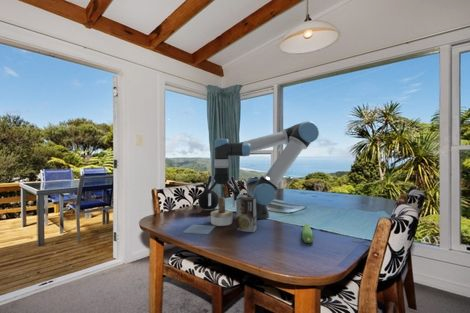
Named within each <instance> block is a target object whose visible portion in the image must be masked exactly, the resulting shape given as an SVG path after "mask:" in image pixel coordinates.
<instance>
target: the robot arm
mask: <svg viewBox="0 0 470 313" xmlns="http://www.w3.org/2000/svg"><path fill="white" fill-rule="evenodd" d="M319 134H320V131H319V128H318V126H317V125H316V123H314V122H313V121H309V120H308V121H307V120H306V121H301V122H300V123H297V124H294V125H292V126H290V127H287V128H284V129H281V131H278V132H275V133H271V134H268V135H265V136H260V137H257V138H252V139H249V140H243V141H241V142H229V141H230V140H229V139H228V138H217V139H215V140H214V176H213V175H209V176H208V180H207V183H206V185H205V186H204V188H203V191H202V192H204V193H206V194H207V200H208V206H210V205H211V193H210V192H211V191H213V189H214V188H215V187H216V186H217V185H226V186H227V187H228V189H229V190H230V191H231V192H232V207H233V208H236V199H237V198H238V195H239V194H240V193H241V191H240V188H239V187H238V183H237V182H236V180H235V176H234V175H231V176H230V175H229V157H249V156H250V155H251V153H253V152H258V151H262V150H266V149H269V148H273V147H276V146H281V145H285V147H284V148H283V150H282V151H281V153H280V154H279V155H278V156H277V158H276V160H275V161H274V162H273V164H272V165H271V166H270V168H269V169H268V171H267V172H266V173H265V174H263V175H261V176H260V177H259V178H248V179H247V180H246V197H254V198H256V220H263V219H269V217H270V212H269V209H268V205H270V204H271V203H272V202H274V200H275V199H276V192H277V191H278V190H279V188H280V187H279V183H280V182H281V180H282V179H283V178H284V176H285V175H286V173H287V172H288V171H289V169H290V168H291V167H292V165H293V163H294V162H295V160H296V159H297V158H298V157H299V155H300V154H301V152H302V151H303V150H306V149H308V148H309V146H310V144H312V143H313V142H315V141H316V140H317V139H318V138H319ZM213 180H214V183H213V184H212V185H211V183H212V182H213ZM229 180H230V181H231V183H232V184H233V186H232V184H231V183H230V181H229ZM210 185H211V186H210ZM209 186H210V187H209ZM207 190H208V191H207Z"/></svg>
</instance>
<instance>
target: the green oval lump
mask: <svg viewBox="0 0 470 313" xmlns="http://www.w3.org/2000/svg"><path fill="white" fill-rule="evenodd" d="M301 231H302V232H301V234H302V235H301V236H302V237H301V239H302V240H303V241H304V243H306V244H311V243H312V242H313V240H314V234H313V231H312V228H311V227H310V225H309V224H308V223H304V225H303V227H302V230H301Z"/></svg>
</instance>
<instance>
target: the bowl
mask: <svg viewBox="0 0 470 313" xmlns="http://www.w3.org/2000/svg"><path fill="white" fill-rule="evenodd" d="M210 223H211V225H212V226H219V227H220V226H221V227H224V226H230V225H231V224H232V223H233V215H232V216H230V217H223V218H220V217H213V216H210Z"/></svg>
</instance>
